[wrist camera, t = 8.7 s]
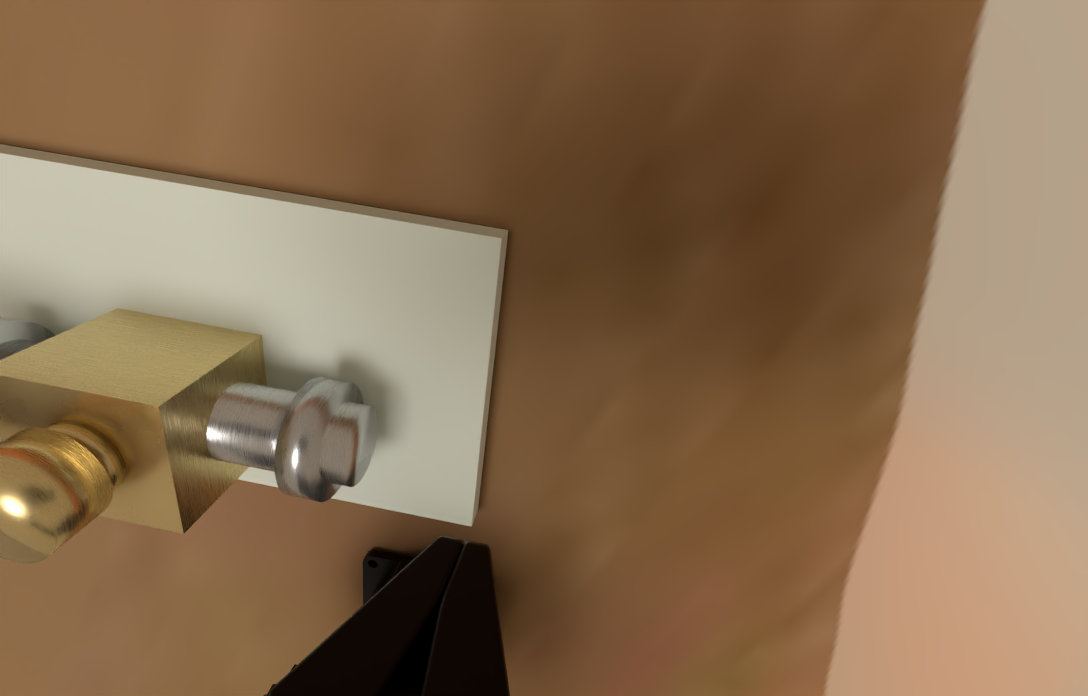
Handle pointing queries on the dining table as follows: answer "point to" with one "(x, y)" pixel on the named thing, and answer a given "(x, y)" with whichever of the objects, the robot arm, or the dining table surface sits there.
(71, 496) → the lever
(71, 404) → the valve
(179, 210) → the board
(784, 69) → the dining table surface
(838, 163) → the dining table surface
